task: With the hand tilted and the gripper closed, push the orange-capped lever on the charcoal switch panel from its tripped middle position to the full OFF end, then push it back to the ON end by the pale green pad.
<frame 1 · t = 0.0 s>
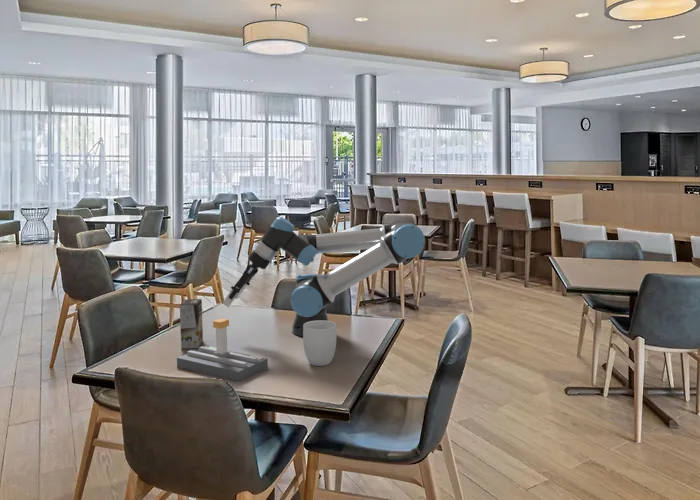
hand: (229, 300, 209), 15 cm above the table, tool tilted 35°, fingers open, 13 cm apart
coffee box: (192, 345, 206), on the table
switch panel: (222, 367, 182), on the table
lever: (221, 338, 181), point 9 cm above the table, slide at 5.0 cm
mug: (319, 362, 187), on the table
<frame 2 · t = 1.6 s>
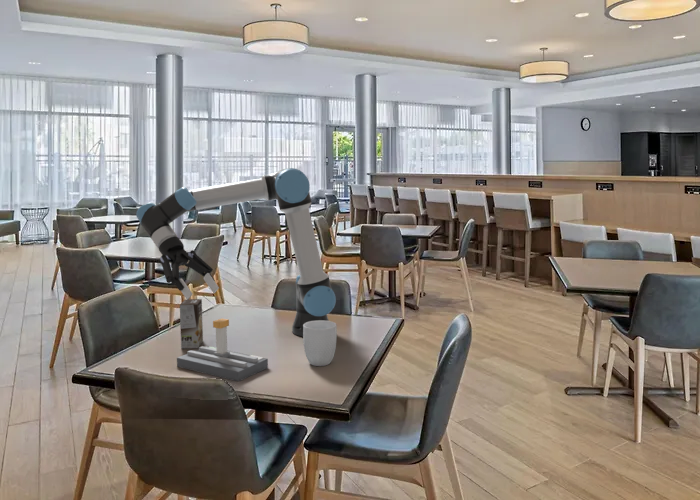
hand: (203, 293, 183), 23 cm above the table, tool tilted 45°, fingers open, 11 cm apart
nothing on the table moved.
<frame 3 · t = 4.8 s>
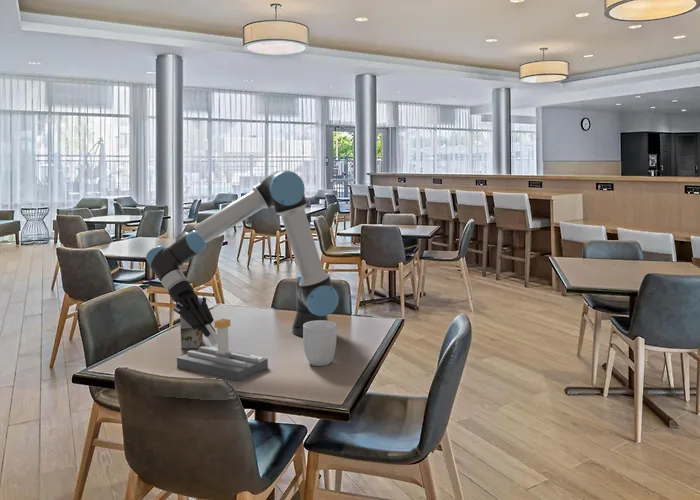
hand: (216, 342, 182), 8 cm above the table, tool tilted 45°, fingers closed
lever: (222, 339, 181), point 9 cm above the table, slide at 4.4 cm, touching gripper
everything else where it was.
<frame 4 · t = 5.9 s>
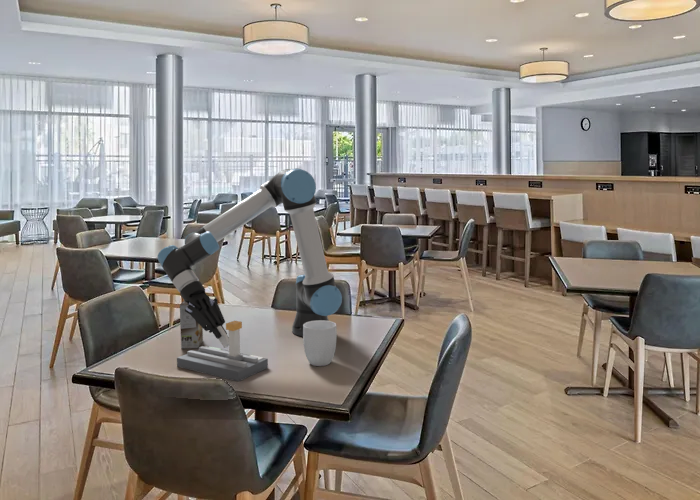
hand: (227, 344, 179), 8 cm above the table, tool tilted 45°, fingers closed
lever: (234, 341, 178), point 9 cm above the table, slide at -0.4 cm, touching gripper
everything else where it was.
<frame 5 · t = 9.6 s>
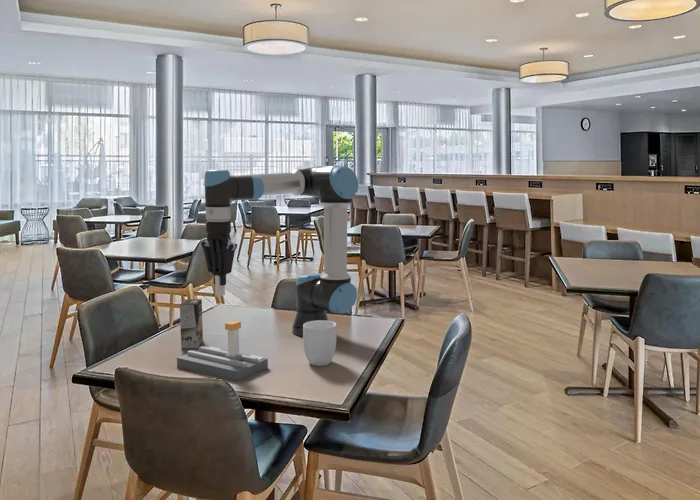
hand: (220, 295, 178), 24 cm above the table, tool pointing down, fingers closed
lever: (233, 341, 178), point 9 cm above the table, slide at 0.0 cm
everything else where it was.
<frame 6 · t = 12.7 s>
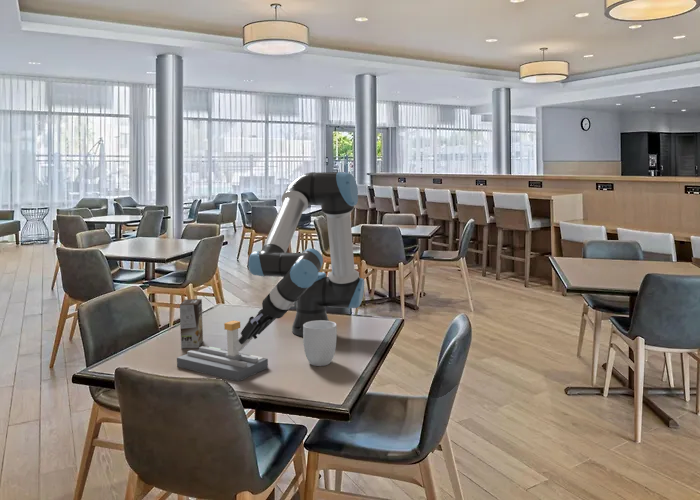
hand: (237, 347, 177), 8 cm above the table, tool tilted 45°, fingers closed
lever: (232, 341, 179), point 9 cm above the table, slide at 0.2 cm, touching gripper
everything else where it was.
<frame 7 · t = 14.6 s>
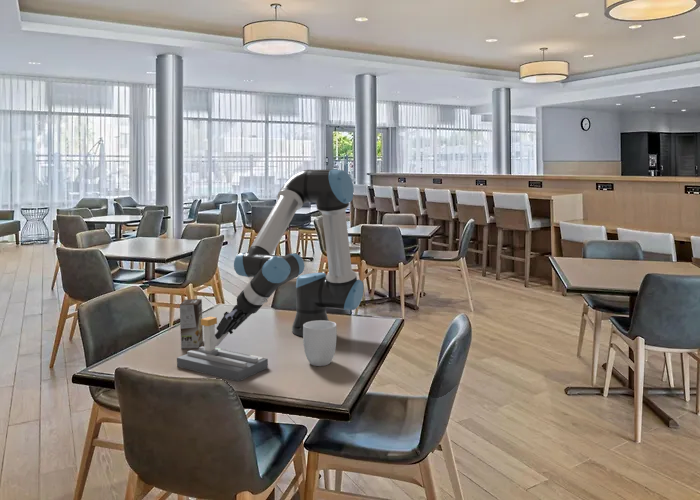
hand: (214, 342, 182), 8 cm above the table, tool tilted 45°, fingers closed
lever: (209, 336, 184), point 9 cm above the table, slide at 10.2 cm, touching gripper
everything else where it was.
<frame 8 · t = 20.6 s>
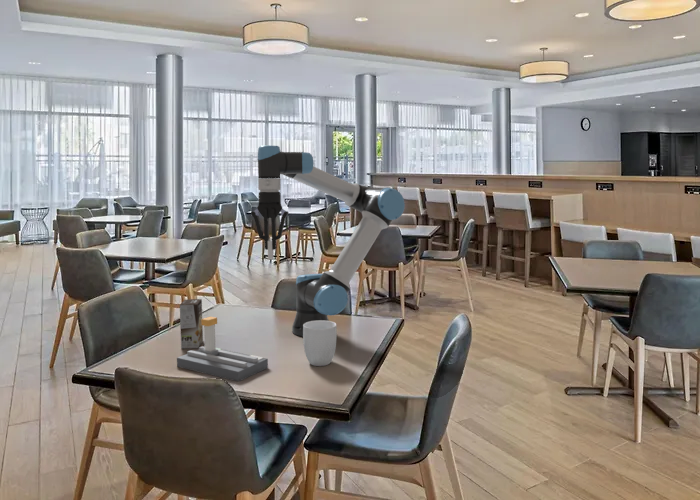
hand: (270, 258, 197), 32 cm above the table, tool pointing down, fingers closed
lever: (209, 336, 183), point 9 cm above the table, slide at 10.0 cm
everything else where it was.
at the end: lever slide at 10.0 cm; mug moved 0.2 cm from its start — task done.
